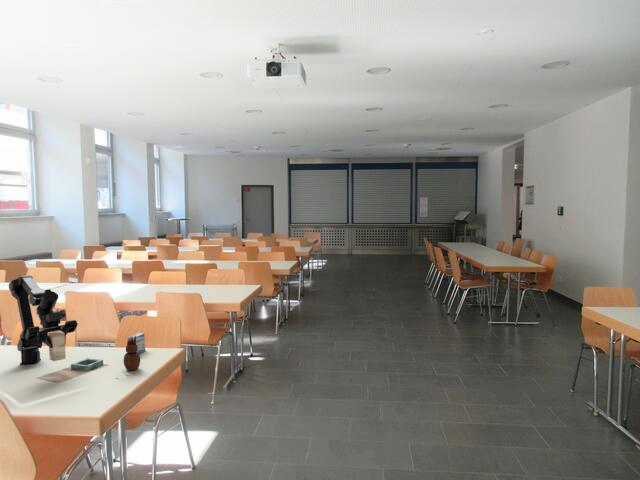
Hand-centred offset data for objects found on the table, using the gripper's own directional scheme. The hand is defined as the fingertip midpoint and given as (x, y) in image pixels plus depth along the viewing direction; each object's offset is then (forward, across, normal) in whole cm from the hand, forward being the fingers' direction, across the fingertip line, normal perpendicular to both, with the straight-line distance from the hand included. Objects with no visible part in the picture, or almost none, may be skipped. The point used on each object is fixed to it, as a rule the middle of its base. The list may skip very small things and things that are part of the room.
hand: (58, 346), depth 192 cm
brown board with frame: (+8, +6, +11) cm, 15 cm away
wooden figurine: (+19, +24, 0) cm, 31 cm away
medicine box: (+3, +38, +16) cm, 42 cm away
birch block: (+3, 0, +5) cm, 6 cm away
